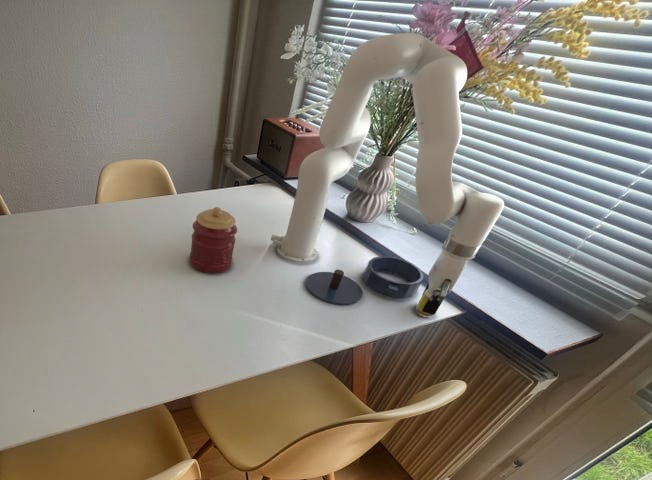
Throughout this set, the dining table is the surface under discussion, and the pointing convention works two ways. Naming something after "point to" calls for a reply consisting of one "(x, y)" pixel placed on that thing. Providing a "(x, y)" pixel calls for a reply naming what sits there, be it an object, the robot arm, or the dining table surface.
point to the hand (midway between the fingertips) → (428, 304)
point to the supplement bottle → (423, 301)
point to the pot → (389, 286)
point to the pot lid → (334, 288)
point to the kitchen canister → (213, 241)
